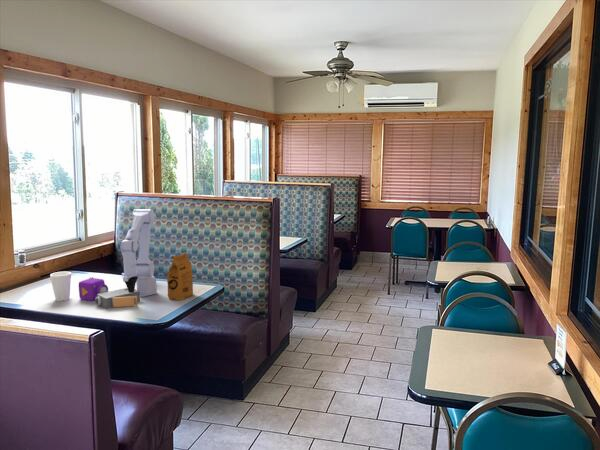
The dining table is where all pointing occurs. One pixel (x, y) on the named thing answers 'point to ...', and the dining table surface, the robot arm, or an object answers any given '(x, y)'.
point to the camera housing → (106, 297)
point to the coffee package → (180, 278)
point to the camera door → (124, 301)
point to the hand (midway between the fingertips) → (131, 292)
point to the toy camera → (91, 288)
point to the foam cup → (61, 285)
